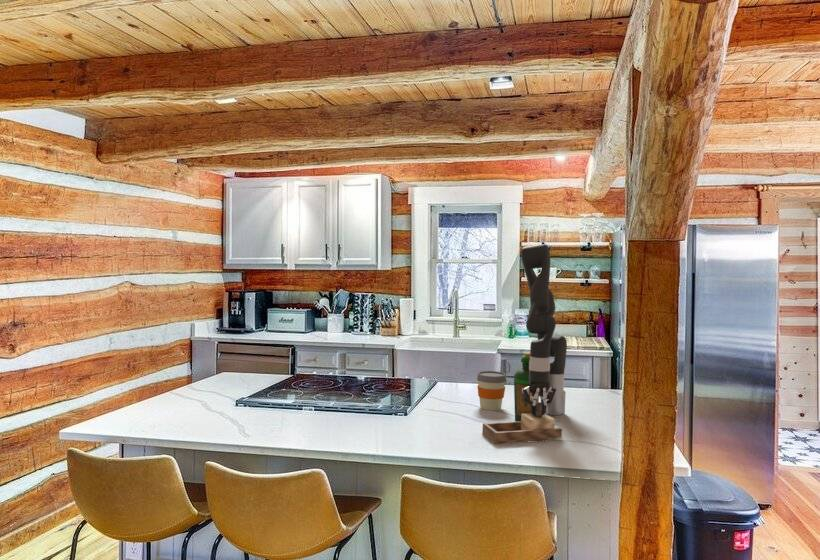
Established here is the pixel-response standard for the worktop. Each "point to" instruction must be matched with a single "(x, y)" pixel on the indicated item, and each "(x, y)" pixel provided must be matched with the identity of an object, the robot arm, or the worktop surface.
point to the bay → (517, 433)
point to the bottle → (521, 382)
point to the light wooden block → (537, 420)
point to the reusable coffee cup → (491, 389)
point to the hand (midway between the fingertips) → (537, 414)
